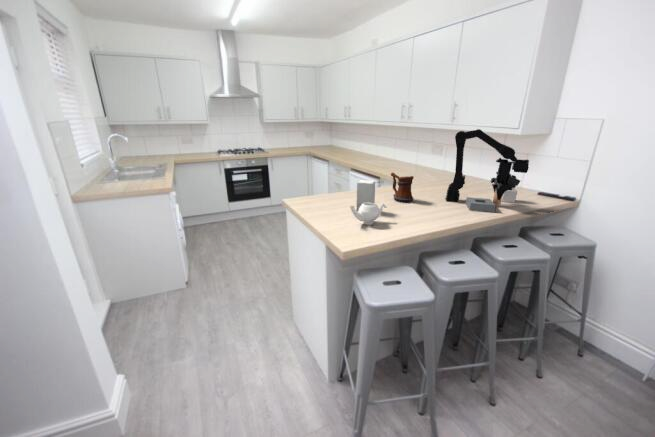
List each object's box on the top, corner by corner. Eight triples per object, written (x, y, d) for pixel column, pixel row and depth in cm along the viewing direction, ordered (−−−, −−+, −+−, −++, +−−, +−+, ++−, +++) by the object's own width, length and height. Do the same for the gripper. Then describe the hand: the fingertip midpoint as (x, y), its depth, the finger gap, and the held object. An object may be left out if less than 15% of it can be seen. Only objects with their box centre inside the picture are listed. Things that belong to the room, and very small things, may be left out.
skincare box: (374, 209, 154) (376, 180, 149) (370, 213, 148) (372, 183, 143) (359, 207, 157) (361, 179, 152) (355, 210, 152) (356, 181, 146)
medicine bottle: (514, 202, 170) (519, 182, 166) (501, 201, 172) (506, 182, 167) (510, 199, 177) (515, 180, 173) (497, 198, 178) (501, 179, 174)
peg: (493, 204, 162) (497, 189, 159) (491, 202, 166) (495, 187, 162) (501, 205, 161) (505, 189, 158) (499, 203, 165) (503, 187, 161)
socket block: (469, 210, 156) (470, 203, 154) (465, 203, 167) (466, 197, 165) (494, 212, 153) (495, 205, 151) (488, 205, 164) (490, 199, 162)
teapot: (391, 223, 136) (393, 204, 132) (354, 229, 128) (355, 209, 124) (379, 216, 144) (381, 198, 141) (344, 222, 136) (345, 203, 132)
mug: (382, 196, 179) (384, 172, 174) (396, 194, 184) (399, 170, 179) (402, 204, 164) (405, 178, 159) (417, 201, 170) (420, 176, 164)
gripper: (527, 175, 146) (519, 205, 152) (514, 169, 163) (508, 195, 169) (502, 174, 149) (496, 203, 154) (493, 167, 166) (487, 194, 171)
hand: (497, 198), depth 162 cm, fingers closed on peg, 4 cm apart
